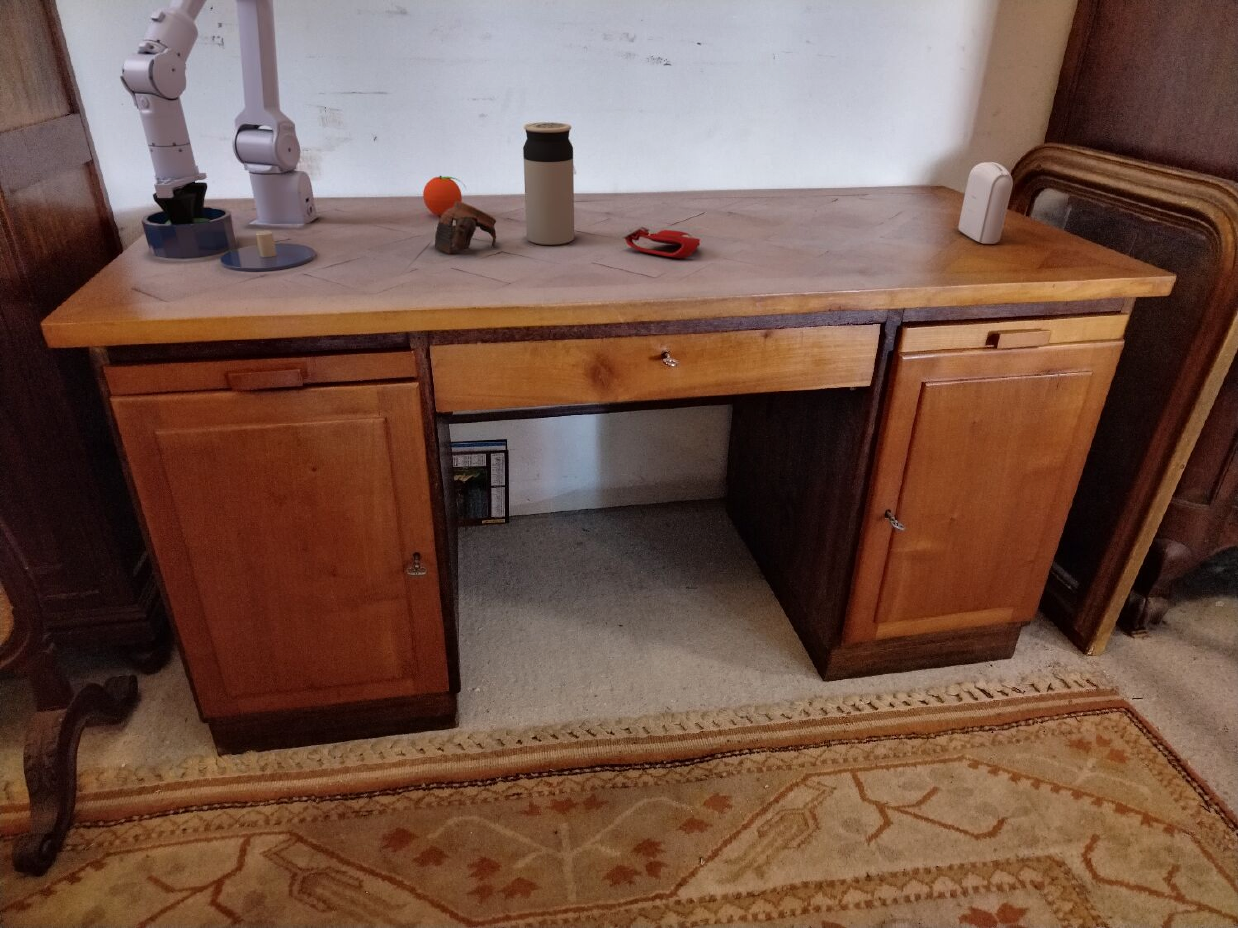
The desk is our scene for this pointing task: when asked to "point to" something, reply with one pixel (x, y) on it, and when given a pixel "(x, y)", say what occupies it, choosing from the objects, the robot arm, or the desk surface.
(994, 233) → the photo printer
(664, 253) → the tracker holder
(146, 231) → the crock
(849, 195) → the desk surface
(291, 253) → the crock lid
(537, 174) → the travel mug
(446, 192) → the clementine
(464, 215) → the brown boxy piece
